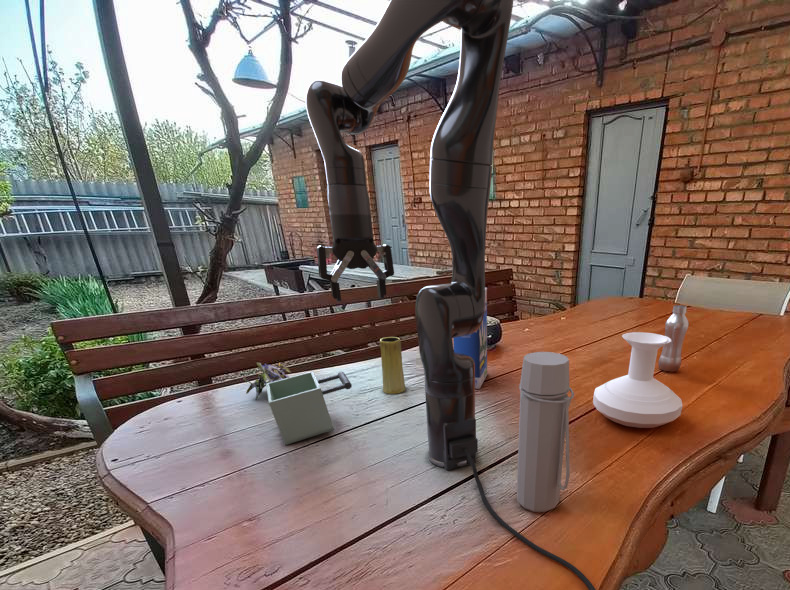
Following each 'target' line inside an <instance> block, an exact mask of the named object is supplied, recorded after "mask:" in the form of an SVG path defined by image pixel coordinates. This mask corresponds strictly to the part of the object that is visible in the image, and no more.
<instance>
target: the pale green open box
mask: <svg viewBox="0 0 790 590" xmlns="http://www.w3.org/2000/svg"><path fill="white" fill-rule="evenodd" d="M338 379H339V381H340V383H341V384H339V385H336V386H332V387H329V388H325V389H322V388H321V386H320V384H324V383H327V382H331V381H334V380H338ZM352 384H353V383H352V382H351V381H350V379H349V378H348V376H347V375H346V373H345V372H344V371H339V372H338V373H337V374H333V375H330V376H326V377H321V378H318V379H317V377H316V375H315V373H314V371H313V370H312V371H308V372H304V373H300V374H297V375H293V376H289V378H285V379H281V380H278V381H274V382H270V383H266V386H265V387H266V393H267V400H268V405H269V407H270V410H271V412H272V415H273V417H274V420H275V423H276V425H277V428H278V431H279V433H280V436H281V438H282V441H283V443H284V445H285V446H287V445H291V444H294V443H297V442H300V441H303V440H306V439H310V438H312V437H315V436H319V435H322V434H324V433H327V432H328V433H329V432H330V431H331V432H332V431H334V430H335V428H334V424H333V422H332V419H331V416H330V413H329V410H328V407H327V403H326V401H325V398H324V395H328V394H331V393H334V392H339V391H341V390H351V389H352V386H353V385H352Z"/></svg>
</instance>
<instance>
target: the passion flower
mask: <svg viewBox="0 0 790 590" xmlns="http://www.w3.org/2000/svg"><path fill="white" fill-rule="evenodd" d="M256 366H257V367H258V368H259V369H260V370H261V372H262V373H259V374H258V375H257V377H258V378H256V379H255V381H254V382H251V381H249V380H248V379H247V376H245V375H243V376H242V380H244V382H245V383H249V384H250V385H249V386H248V388H247V390H246V391H245V392H246V393H245V394H246V395H247V394H249V393H250V392H251V391H252V390H253V389H254V388H255V401H257V400H258V398H259V396H260V395H261V393H262V392H263V389H265V387H266V383H270V382H274V381H278V380H281V379H285V378H289V377H290V376H289V375H286V373H289V374H292V373H293V371H292V370H291V369H290V368H289V367H288V366H287V365H285V363H283V362H279V363H278V367H277V366H274V365H272V364H270V363H269V364H267V363H264V364H262V363H261V362H256Z"/></svg>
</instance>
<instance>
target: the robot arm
mask: <svg viewBox="0 0 790 590" xmlns="http://www.w3.org/2000/svg"><path fill="white" fill-rule="evenodd" d="M513 6H514V0H390V1H389V2H388V4H387V6H386V8H385V10H384V11H383V14H382V15H381V17H380V19H379V20H378V22H377V23H376V25H375V26H374V29H372V31H371V33H370V34H369V35H368V36H367V38H365V39H364V41H363V42H362V43H361V44H360V45H359V46H358V48H357V49H356V50H355V51H354V52H353V53H352V54H351V56H350V57H349V58H348V59H347V60H346V61H345V63H344V64H343V66H342V68H341V72H340V82H341V84H339V83H335V82H331V81H327V80H324V79H316V80H314V81H312V82H310V84H309V86H308V88H307V90H306V94H305V108H306V112H307V117H308V119H309V122H310V126H311V127H312V130H313V133H314V136H315V138H316V141H317V144H318V147H319V149H320V151H321V156H322V158H323V161H324V169H325V176H326V184H327V203H328V207H327V208H328V212H329V218H330V227H331V234H332V241H333V242H332V246H322V245H317V246H316V257H317V268H318V276H319V278H321V279H323V280H325V281H328V282H329V284H330V285H329V286H330V291H331V297H332V298H333V299H334V300H335V301H336V302H342V295H341V287H340V282H339V281H338V280H339V279H340V277H341V276H342V274H343V273H344V272H345V270H346V269H349V270H355V269H363V270H364V269H367V268H369V270H370V271H372V272H373V274H374V275H375V276H376V280H375V281H376V291H377V297H378V299H380V300H381V299H382V300H383V299H385V296H387V282H386V280H387V278H390V277H393V276H395V267H394V262H393V261H394V260H393V254H392V248H391V245H390V244H382V245H376V243H375V240H374V229H373V218H372V208H371V199H370V194H369V189H368V181H367V180H368V179H367V170H366V161H365V157H364V155H363V153H362V152H361V151H360V150H358V149H355V148H354V147H351V146H349V145H348V144H347V143H346V141H345V140H344V138H343V135H342V134H345V135H351V136H357V135H360V134H363V133H364V132H366V131H367V130H369V128H370V126H371V124H372V122H373V120H374V118H375V117H376V114H377V112H378V109H379V108H380V106H381V104H383V103H384V101H386V100H387V99H388V98H389V97H390V96H391V95H392V94H394V92H396V91H397V90H398V89H399V87H400V86H401V85H402V83H403V82H404V81H405V79H406V77H407V76H408V72H409V70H410V67H411V61H412V56H413V50H414V46H415V44H416V42H417V41H418V40H419V39H420V37H421V36H423V35H424V34H425V33H426V32H427V31H429V30H430V29H431V28H433V27H435V26H436V25H438V24H440V23H441V22H443V23H444V24H446V25H448V26H451V27H453V28H455V29H456V30H457V29H458V30H459V31H460V52H459V65H458V74H457V79H456V84H455V86H454V90H453V92H452V95H451V97H450V99H449V101H448V103H447V106H446V108H445V110H444V112H443V114H442V116H441V117H440V120H439V121H438V124H437V126H436V129H435V131H434V134H433V137H432V140H431V145H430V151H429V152H430V154H429V158H430V159H429V185H428V186H429V187H428V188H429V197H430V201H431V204H432V205H431V206H432V208H433V210H434V212H435V215H436V217H437V219H438V221H439V223H440V225H441V228H442V230H443V231H444V234H445V236H446V238H447V241H448V244H449V247H450V251H451V257H452V261H451V263H452V271H451V272H452V274H451V282H448V283H440V284H432V285H427V286H424V287H423V288H421V289H420V290H419V291H418V293H417V295H416V300H415V304H414V305H415V307H414V310H415V311H414V313H415V324H416V333H417V341H418V351H419V352H418V353H419V357H420V361H421V365H422V367H423V375H424V377H423V378H424V392H425V393H424V395H425V410H426V411H425V413H426V428H427V445H428V451H427V453H428V460H429V462H430V463H432V464H433V465H435V466H437V467H441V468H443V469H445V470H446V471H450V470H451V471H452V470H453V469H454V470H455V469H457V468H458V469H459V468H461V467H466V466H470V468H471V470H472V473H473V477H474V480H475V483H476V486H477V489H478V491H479V495H480V497H481V501H482V503H483V505H484V507H485V508H486V510H487V511H488V513H489V514H490V515H491V516H492V518H493V519H494V520H495V521H497V523H498V524H499V525H500V526H502V527H503V528H504V529H505V530H506V531H507V532H509V533H510V534H511V535H513V536H514V537H515V538H517V539H518V540H519V541H521V542H522V543H523V544H525V545H526V546H528V547H529V548H530V549H532V550H534V551H535V552H537V553H539V554H541V555H542V556H544V557H546V558H548V559H550V560H552V561H554V562H556V563H558V564H560V565H561V566H563V567H565V568H566V569H568V570H570V571H571V572H572V573H574V575H575V576H577V577H578V578H579V580H581V581H582V583H583V584H584V585H585V586H586V588H587V589H588V590H597V589H596V587H595V585H593V583H592V582H591V581H590V579H588V578H587V576H586V575H585V574H584V573H582V571H581V570H580V569H578V567H576V566H574V565H573V564H572V563H570V562H569V561H567V560H566V559H563V558H562V557H560V556H558V555H556V554H554V553H552V552H550V551H548V550H546V549H544V548H542V547H540V546H539V545H537V544H536V543H534V542H532V541H531V540H529V539H528V538H526V537H525V536H524V535H522V534H521V533H520V532H518V531H517V530H515V528H513V527H512V526H510V525H509V524H508V523H507V522H505V521H504V520H503V519H502V518H501V517H500V516H499V515H498V513H497V512H496V511H495V510H494V509H493V508H492V506H491V504H490V503H489V501H488V499H487V497H486V494H485V492H484V488H483V485H482V483H481V479H480V476H479V473H478V469H477V467H476V463H477V454H478V453H479V449H478V442H479V439H478V438H477V419H476V389H475V363H474V360H473V359H472V358H471V357H470V356H468V355H465V354H462V353H457V352H454V341H453V338H456V337H460V336H465V335H469V334H472V333H474V332H476V331H477V330H478V329H479V327H480V326H481V324H482V321H483V317H484V310H485V288H486V244H487V243H486V241H487V228H488V227H487V225H488V211H489V204H490V202H489V201H490V195H491V188H492V187H491V185H492V175H493V163H494V162H493V161H494V160H493V159H494V146H495V145H494V144H495V143H494V142H495V134H496V123H497V115H498V106H499V98H500V97H499V96H500V87H501V80H502V74H503V68H504V61H505V54H506V50H507V43H508V38H509V32H510V27H511V21H512V15H513ZM377 253H379V255H380V256H381V257H382V259H383V265H384V270H382V269H381V267H380V266H379V265H378V264H377V262H375V260H374V258H375V257H376V254H377ZM331 254H333V255H334V257H335V258H336V259H337V261H336V263H335V265H334V268H333V269H332V271H331V272H330V273H329V272H328V265H327V259H329V258H330V256H331Z"/></svg>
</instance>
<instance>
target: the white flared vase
mask: <svg viewBox="0 0 790 590" xmlns="http://www.w3.org/2000/svg"><path fill="white" fill-rule="evenodd" d="M621 337H622V338H623V339H624V341H626V342H627V343H628V344H629V345H630V346H631V350H630V359H629V365H628V373H627V374H626V375H623V376H619V377H616V378H614V379H610V380H609V381H607V382H605V383H603V384H600V385H599V386H596V387H595V389H594V392H593V397H592V398H593V399H592V404H593V406H594V408H595V409H596V410H597V411H598V412H599V413H600V414H602V415H603V416H604V417H605V418H606V419H609V420H610V421H612V422H614V423H617V424H619V425H623V426H626V427H631V428H638V429H643V428H644V429H650V428H651V429H653V428H657V427H660V426H664V425H666V424H669V423H671V422H674V421H675V420H677V419H678V418H679V417H681V416H682V415H681V414H682V410H683V401H682V398H681V397H680V396H678V395H677V394H676V393H675V392H674V391H673V390H672V389H671V388H670V387H669V386H668V385H666V384H664V383H662V381H659V380H658V379H656V378H654V376H655V375H654V374H655V368H656V363H657V357H658V350H659V349H661V348H663V346H664V345H666V344H668V343H669V342H671V339H670V338H669V337H667V336H665V335H663V334H659V333H653V332H643V331H632V332H626V333H623V334H622V335H621Z"/></svg>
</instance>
